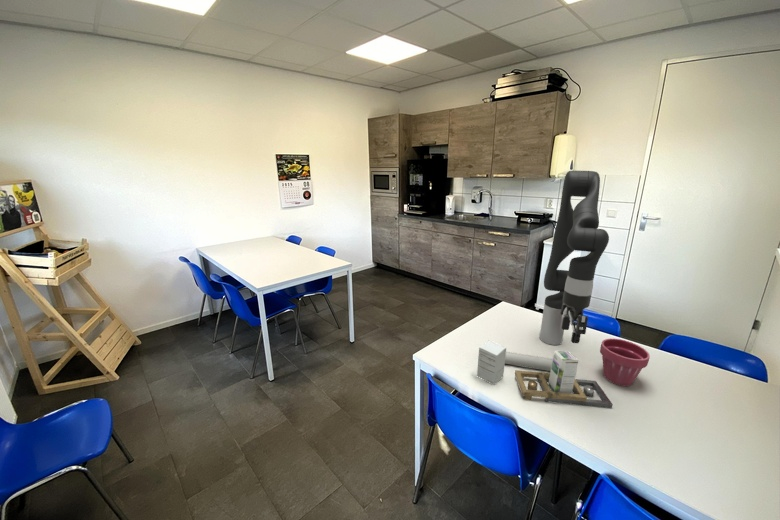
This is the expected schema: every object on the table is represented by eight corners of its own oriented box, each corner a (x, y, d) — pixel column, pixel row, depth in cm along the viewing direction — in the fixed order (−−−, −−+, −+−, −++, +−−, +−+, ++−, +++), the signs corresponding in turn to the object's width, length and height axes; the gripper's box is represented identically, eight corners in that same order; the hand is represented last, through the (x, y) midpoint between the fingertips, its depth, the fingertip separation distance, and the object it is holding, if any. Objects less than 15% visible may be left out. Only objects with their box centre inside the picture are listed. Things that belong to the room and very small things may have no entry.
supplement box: (486, 368, 125) (488, 339, 121) (503, 376, 120) (507, 347, 116) (475, 376, 120) (478, 346, 116) (494, 385, 115) (497, 355, 111)
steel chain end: (536, 379, 118) (537, 373, 118) (594, 384, 115) (596, 378, 115) (547, 401, 107) (548, 395, 106) (611, 408, 104) (613, 401, 103)
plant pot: (644, 377, 119) (652, 347, 115) (639, 397, 109) (647, 364, 105) (599, 362, 128) (605, 334, 125) (591, 378, 118) (597, 348, 115)
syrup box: (547, 385, 115) (552, 350, 111) (563, 385, 115) (569, 350, 111) (555, 396, 109) (562, 360, 105) (572, 396, 109) (579, 359, 105)
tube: (556, 357, 125) (489, 346, 132) (559, 360, 120) (490, 349, 127) (554, 370, 125) (488, 359, 132) (558, 374, 120) (489, 363, 127)
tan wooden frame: (514, 377, 119) (515, 370, 119) (571, 382, 117) (572, 375, 116) (522, 399, 108) (523, 391, 107) (585, 405, 105) (587, 398, 104)
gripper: (601, 300, 93) (591, 348, 98) (581, 282, 107) (573, 326, 112) (574, 298, 94) (565, 346, 99) (557, 281, 108) (550, 324, 113)
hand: (569, 335), depth 105 cm, fingers open, 8 cm apart
